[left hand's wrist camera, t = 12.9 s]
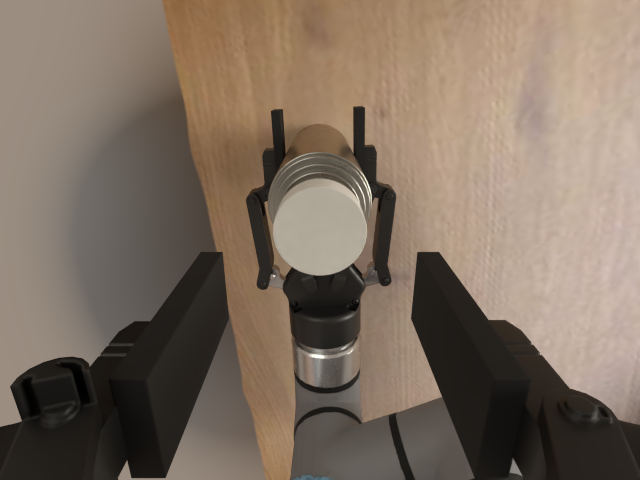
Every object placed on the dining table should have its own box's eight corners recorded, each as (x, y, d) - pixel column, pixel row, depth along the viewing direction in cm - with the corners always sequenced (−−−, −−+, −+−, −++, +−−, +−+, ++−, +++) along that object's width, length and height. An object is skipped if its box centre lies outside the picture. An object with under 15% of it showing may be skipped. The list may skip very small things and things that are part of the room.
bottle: (292, 186, 44) (263, 290, 21) (287, 126, 42) (248, 170, 19) (350, 182, 44) (384, 284, 21) (348, 122, 42) (383, 162, 19)
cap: (280, 262, 22) (277, 278, 20) (272, 180, 21) (267, 190, 19) (363, 257, 22) (367, 273, 20) (362, 175, 21) (366, 184, 19)
